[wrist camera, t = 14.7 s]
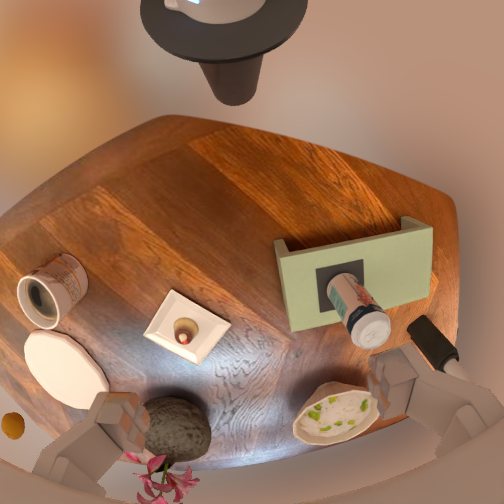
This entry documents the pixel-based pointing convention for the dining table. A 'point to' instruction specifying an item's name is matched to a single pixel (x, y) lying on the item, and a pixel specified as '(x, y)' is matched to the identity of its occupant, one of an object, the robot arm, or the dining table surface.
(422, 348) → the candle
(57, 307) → the mug
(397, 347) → the robot arm
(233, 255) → the dining table surface
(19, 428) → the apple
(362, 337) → the beer can
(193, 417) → the vase
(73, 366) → the decorative plate
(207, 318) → the dessert
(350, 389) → the bowl
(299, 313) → the shelf
